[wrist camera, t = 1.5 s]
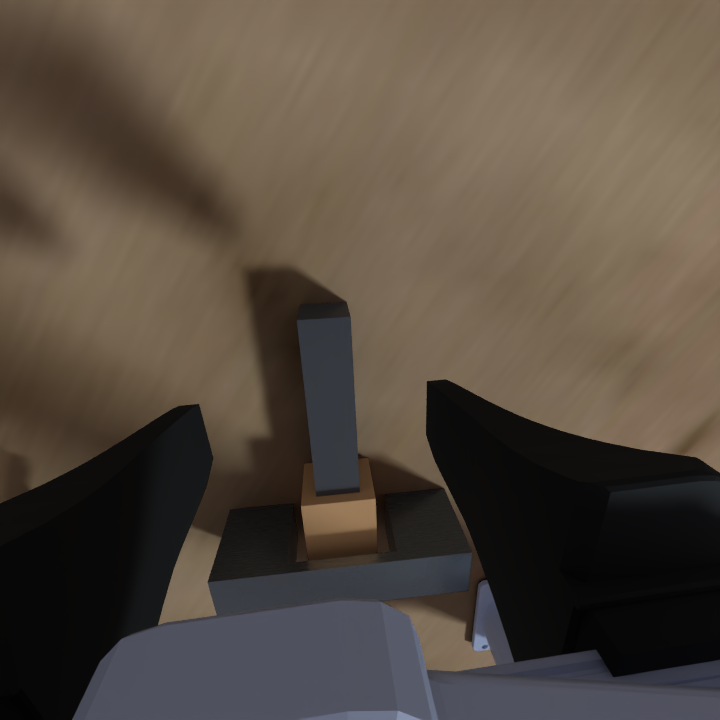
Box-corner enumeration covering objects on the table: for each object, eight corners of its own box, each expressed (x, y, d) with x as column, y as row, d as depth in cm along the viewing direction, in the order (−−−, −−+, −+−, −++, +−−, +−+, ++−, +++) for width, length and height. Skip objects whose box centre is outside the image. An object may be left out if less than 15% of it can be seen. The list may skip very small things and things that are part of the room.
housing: (444, 488, 25) (472, 552, 20) (442, 522, 26) (468, 590, 21) (230, 509, 24) (207, 582, 19) (238, 544, 25) (218, 620, 20)
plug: (284, 305, 19) (276, 325, 16) (361, 300, 19) (369, 319, 16) (311, 524, 25) (309, 573, 21) (370, 518, 25) (377, 565, 22)
